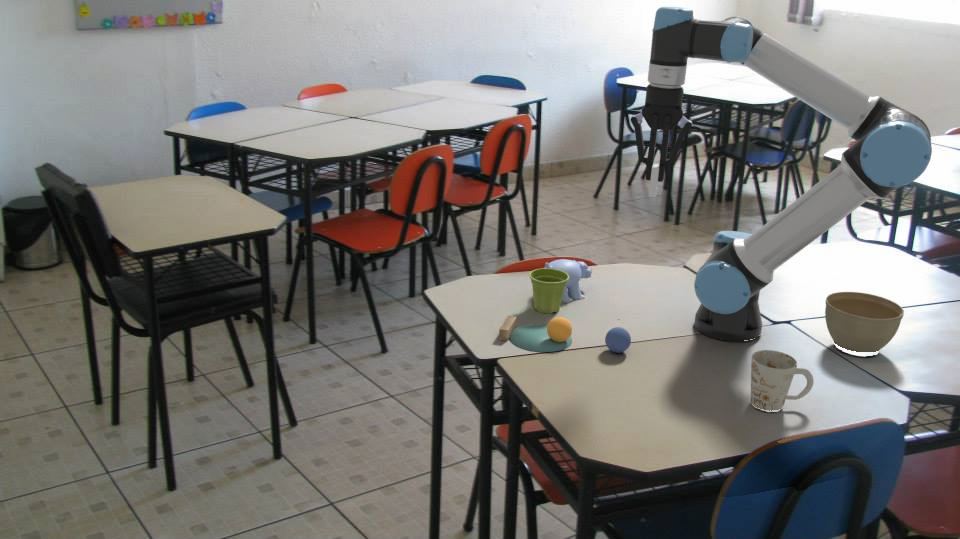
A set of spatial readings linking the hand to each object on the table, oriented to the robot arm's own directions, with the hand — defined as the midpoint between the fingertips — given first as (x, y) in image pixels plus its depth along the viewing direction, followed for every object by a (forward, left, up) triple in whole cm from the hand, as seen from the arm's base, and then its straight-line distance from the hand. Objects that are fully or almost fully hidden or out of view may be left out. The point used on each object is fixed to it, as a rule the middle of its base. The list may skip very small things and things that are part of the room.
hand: (652, 195), depth 196 cm
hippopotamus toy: (+20, -18, -33) cm, 42 cm away
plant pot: (+22, -6, -33) cm, 40 cm away
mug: (-30, +25, -33) cm, 51 cm away
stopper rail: (+28, +11, -32) cm, 44 cm away
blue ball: (+3, +12, -30) cm, 32 cm away
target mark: (+20, +11, -32) cm, 40 cm away
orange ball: (+16, +11, -30) cm, 35 cm away
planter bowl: (-48, -9, -33) cm, 59 cm away
